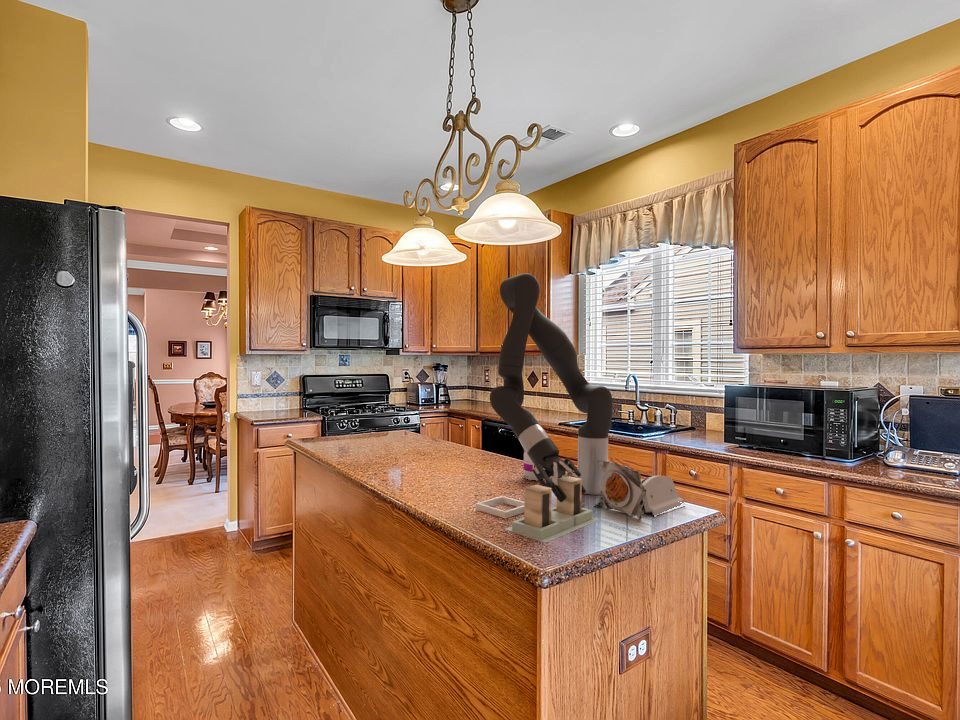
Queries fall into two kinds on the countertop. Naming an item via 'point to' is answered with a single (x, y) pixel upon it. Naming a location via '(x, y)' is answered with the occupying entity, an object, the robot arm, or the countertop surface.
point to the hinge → (659, 494)
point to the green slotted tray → (554, 525)
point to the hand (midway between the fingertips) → (573, 497)
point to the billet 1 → (537, 506)
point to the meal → (621, 489)
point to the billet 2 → (570, 495)
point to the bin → (488, 504)
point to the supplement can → (529, 468)
